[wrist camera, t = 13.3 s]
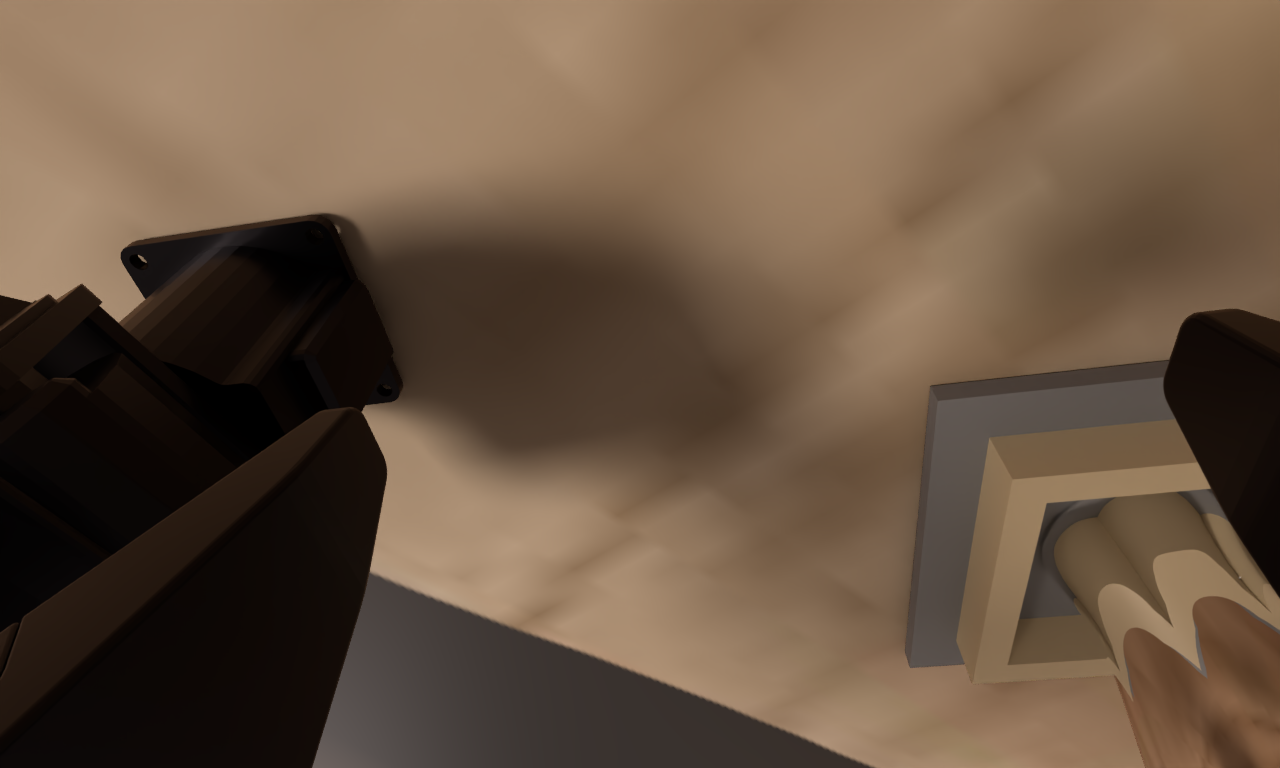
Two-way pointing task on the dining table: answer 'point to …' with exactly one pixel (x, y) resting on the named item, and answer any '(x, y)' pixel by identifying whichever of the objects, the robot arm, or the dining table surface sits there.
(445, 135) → the dining table surface
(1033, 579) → the socket board
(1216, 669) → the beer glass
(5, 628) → the robot arm
